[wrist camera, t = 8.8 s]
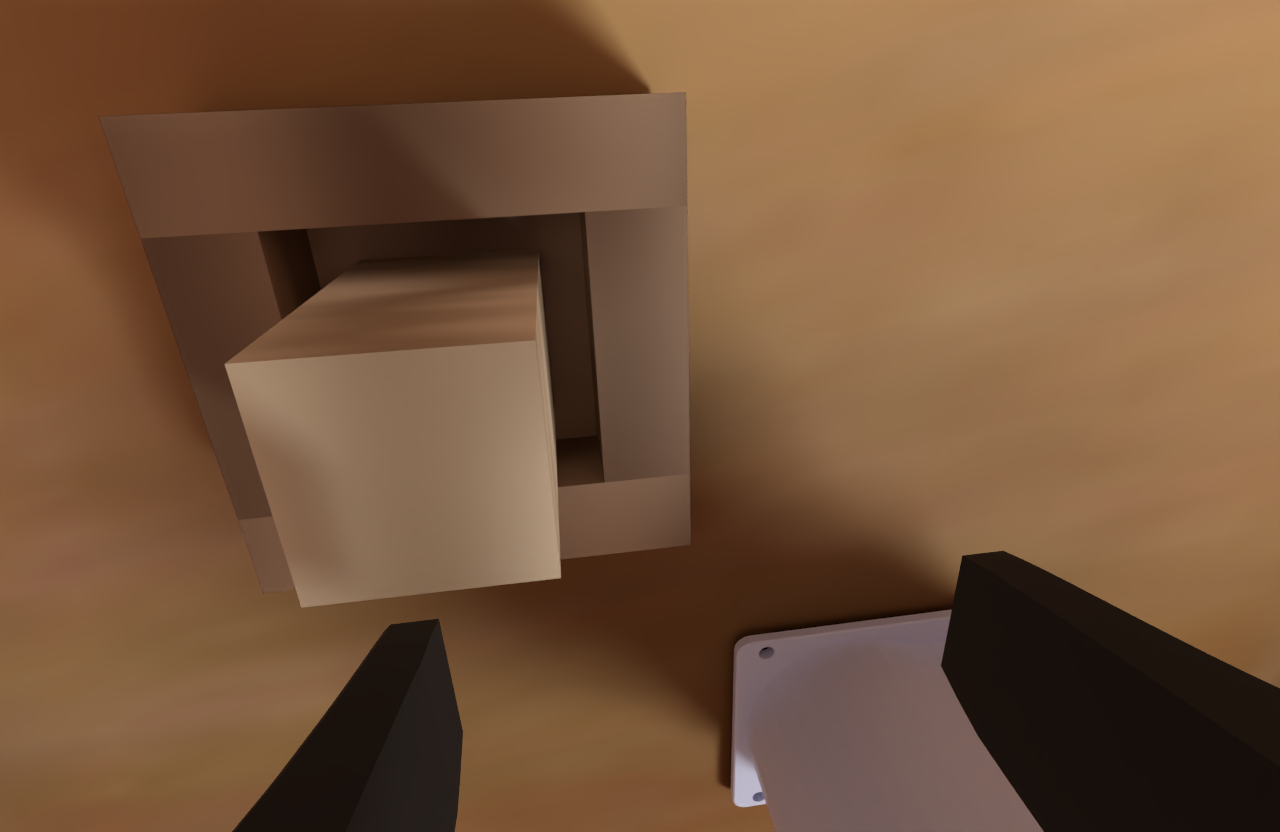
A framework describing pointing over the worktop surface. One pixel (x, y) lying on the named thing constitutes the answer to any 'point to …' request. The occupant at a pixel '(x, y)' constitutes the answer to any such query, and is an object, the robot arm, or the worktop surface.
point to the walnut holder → (441, 225)
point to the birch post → (409, 428)
